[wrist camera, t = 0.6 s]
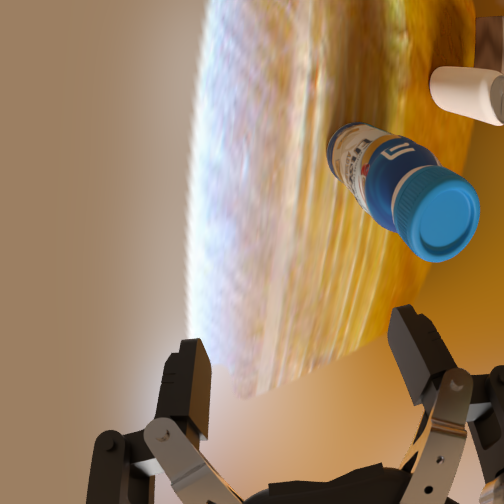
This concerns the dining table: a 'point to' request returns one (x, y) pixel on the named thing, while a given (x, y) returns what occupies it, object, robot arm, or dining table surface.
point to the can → (469, 92)
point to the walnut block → (490, 43)
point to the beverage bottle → (405, 189)
